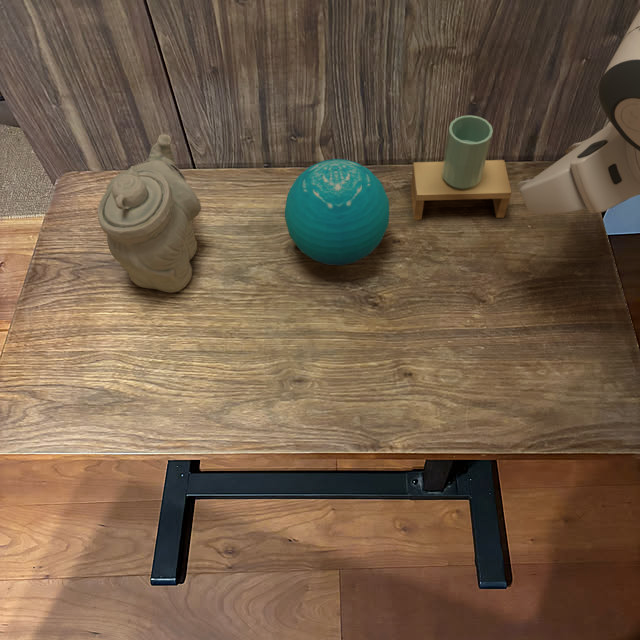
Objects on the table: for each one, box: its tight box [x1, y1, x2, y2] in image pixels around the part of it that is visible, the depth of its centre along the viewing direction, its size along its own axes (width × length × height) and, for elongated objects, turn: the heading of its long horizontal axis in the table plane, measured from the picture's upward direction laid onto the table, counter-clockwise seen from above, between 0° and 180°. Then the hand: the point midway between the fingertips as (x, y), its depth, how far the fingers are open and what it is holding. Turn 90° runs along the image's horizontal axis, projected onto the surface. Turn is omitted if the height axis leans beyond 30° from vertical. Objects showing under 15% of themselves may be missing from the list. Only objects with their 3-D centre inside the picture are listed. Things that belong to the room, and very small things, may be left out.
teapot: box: [97, 133, 202, 293], centre depth 88 cm, size 16×15×19 cm
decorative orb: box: [284, 158, 390, 266], centre depth 89 cm, size 15×15×15 cm
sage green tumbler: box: [442, 114, 494, 189], centre depth 91 cm, size 6×6×9 cm
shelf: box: [410, 159, 512, 221], centre depth 97 cm, size 14×7×6 cm, turn 90°
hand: (547, 169), depth 82 cm, fingers open, 8 cm apart
